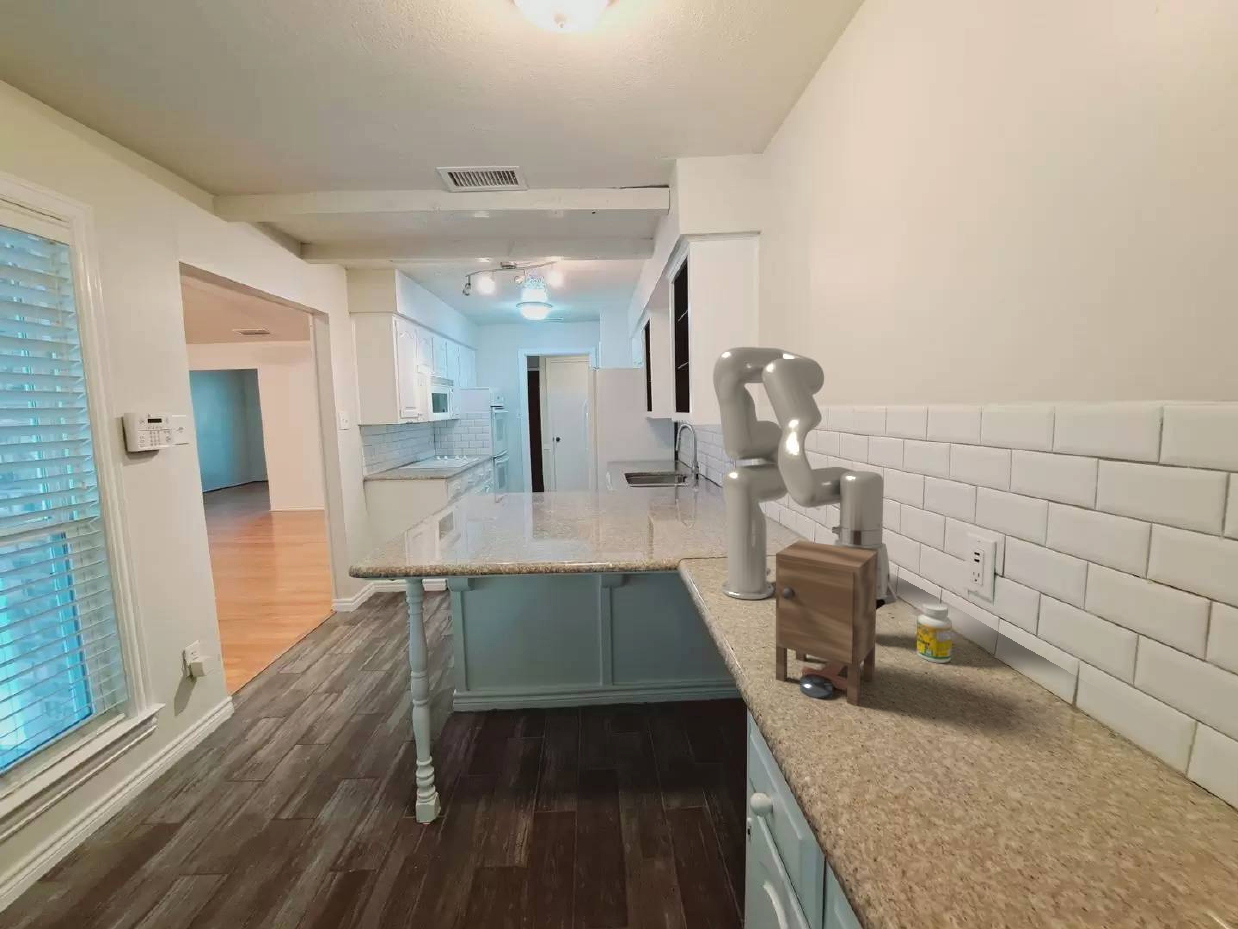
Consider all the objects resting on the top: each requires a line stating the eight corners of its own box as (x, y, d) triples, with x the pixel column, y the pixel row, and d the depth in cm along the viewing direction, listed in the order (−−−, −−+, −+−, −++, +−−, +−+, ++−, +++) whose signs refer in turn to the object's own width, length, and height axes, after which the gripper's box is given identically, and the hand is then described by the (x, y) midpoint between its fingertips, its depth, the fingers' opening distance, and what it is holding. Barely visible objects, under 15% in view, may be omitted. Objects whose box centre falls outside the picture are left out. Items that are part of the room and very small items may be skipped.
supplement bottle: (957, 663, 91) (960, 610, 90) (928, 664, 90) (930, 612, 89) (937, 648, 96) (939, 599, 95) (910, 650, 96) (911, 600, 95)
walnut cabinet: (798, 656, 95) (799, 540, 92) (874, 678, 86) (877, 551, 84) (771, 682, 86) (771, 555, 84) (853, 710, 78) (855, 570, 75)
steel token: (807, 679, 87) (807, 671, 87) (837, 690, 84) (837, 681, 83) (794, 691, 84) (794, 683, 83) (824, 703, 80) (825, 694, 80)
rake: (844, 630, 105) (844, 582, 104) (881, 638, 101) (882, 589, 100) (802, 677, 88) (802, 621, 87) (845, 690, 83) (845, 631, 82)
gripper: (811, 534, 101) (810, 623, 103) (903, 546, 91) (901, 645, 93) (824, 526, 107) (823, 611, 109) (912, 537, 96) (909, 630, 98)
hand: (859, 626), depth 101 cm, fingers closed on rake, 2 cm apart
